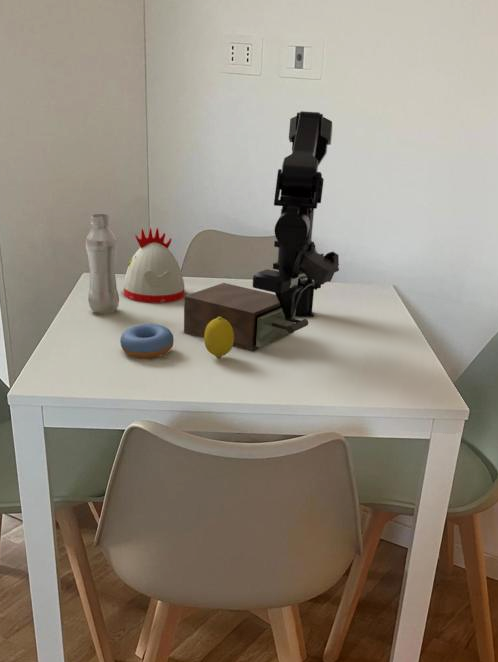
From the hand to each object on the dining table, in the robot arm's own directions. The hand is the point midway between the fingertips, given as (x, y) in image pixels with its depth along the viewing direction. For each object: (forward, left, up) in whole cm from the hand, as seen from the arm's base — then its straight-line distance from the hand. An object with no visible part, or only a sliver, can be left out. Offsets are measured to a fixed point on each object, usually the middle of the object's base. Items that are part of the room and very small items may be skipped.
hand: (288, 318), depth 156 cm
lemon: (+14, +6, -6) cm, 17 cm away
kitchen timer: (+22, -37, -6) cm, 44 cm away
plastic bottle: (+35, -24, -6) cm, 43 cm away
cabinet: (+8, -8, -6) cm, 13 cm away
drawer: (+5, -5, -5) cm, 9 cm away
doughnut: (+27, +2, -6) cm, 28 cm away
